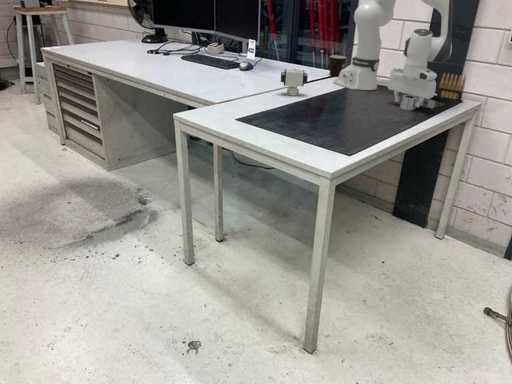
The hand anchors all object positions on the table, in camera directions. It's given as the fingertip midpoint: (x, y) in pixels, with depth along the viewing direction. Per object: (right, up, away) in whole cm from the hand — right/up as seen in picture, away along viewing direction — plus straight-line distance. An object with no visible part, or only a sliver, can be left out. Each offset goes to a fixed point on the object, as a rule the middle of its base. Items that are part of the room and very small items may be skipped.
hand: (407, 104), depth 177 cm
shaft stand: (+11, +2, +7) cm, 13 cm away
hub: (0, -2, 0) cm, 2 cm away
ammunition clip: (+25, +5, +15) cm, 29 cm away
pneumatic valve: (-48, +7, +13) cm, 50 cm away
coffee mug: (-22, +26, +51) cm, 61 cm away
